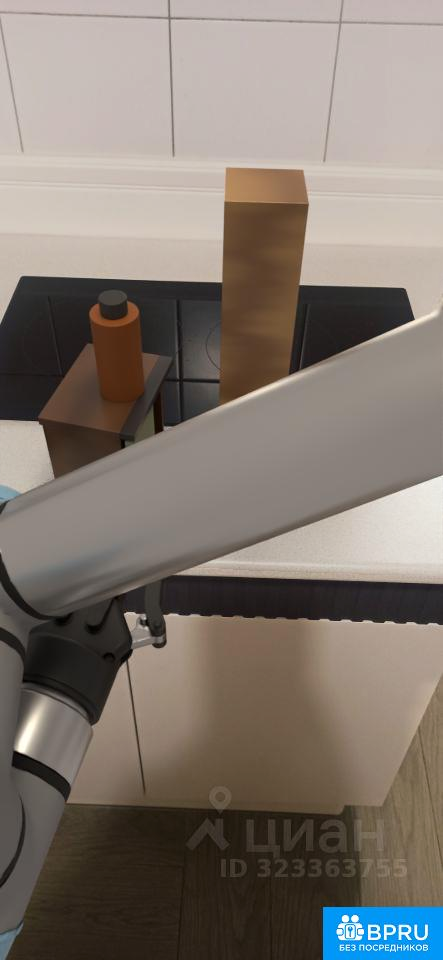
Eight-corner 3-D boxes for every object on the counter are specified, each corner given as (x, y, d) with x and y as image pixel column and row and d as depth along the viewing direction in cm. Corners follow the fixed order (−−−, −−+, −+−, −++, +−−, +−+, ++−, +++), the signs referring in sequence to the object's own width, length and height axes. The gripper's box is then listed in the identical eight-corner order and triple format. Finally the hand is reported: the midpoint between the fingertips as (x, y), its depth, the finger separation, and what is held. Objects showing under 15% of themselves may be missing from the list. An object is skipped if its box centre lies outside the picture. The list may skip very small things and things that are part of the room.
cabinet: (176, 438, 81) (173, 357, 72) (142, 516, 72) (134, 435, 64) (99, 423, 83) (87, 343, 74) (56, 499, 74) (37, 417, 65)
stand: (269, 482, 76) (303, 169, 51) (271, 522, 72) (309, 203, 47) (217, 480, 76) (225, 166, 51) (216, 520, 72) (224, 200, 47)
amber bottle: (153, 383, 69) (147, 292, 62) (128, 408, 66) (118, 316, 59) (116, 369, 71) (106, 279, 63) (90, 393, 68) (76, 301, 60)
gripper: (-29, 709, 49) (90, 484, 65) (139, 754, 47) (220, 511, 63) (-58, 659, 44) (81, 427, 59) (131, 707, 42) (222, 454, 58)
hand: (152, 470), depth 61 cm, fingers closed
